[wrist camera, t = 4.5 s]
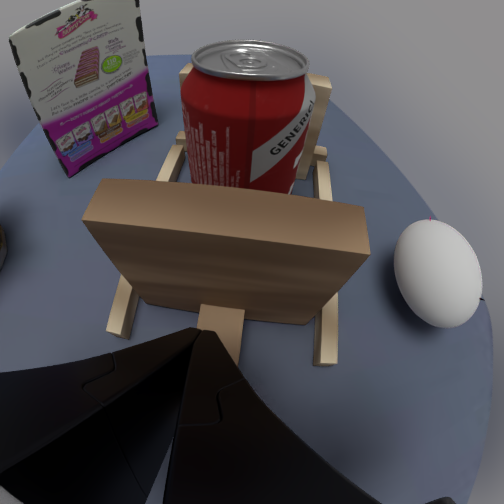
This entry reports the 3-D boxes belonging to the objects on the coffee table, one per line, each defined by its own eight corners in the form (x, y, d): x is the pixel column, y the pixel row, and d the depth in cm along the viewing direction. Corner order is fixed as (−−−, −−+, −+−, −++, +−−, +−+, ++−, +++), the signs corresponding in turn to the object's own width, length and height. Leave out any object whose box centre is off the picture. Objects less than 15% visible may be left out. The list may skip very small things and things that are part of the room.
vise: (328, 366, 15) (414, 332, 7) (115, 336, 15) (29, 278, 7) (322, 159, 24) (348, 76, 16) (181, 143, 24) (171, 58, 16)
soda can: (218, 260, 18) (207, 93, 8) (184, 192, 21) (163, 48, 11) (302, 225, 20) (352, 77, 10) (258, 167, 23) (274, 34, 12)
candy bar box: (140, 110, 27) (121, -15, 13) (160, 125, 26) (142, -20, 11) (58, 159, 23) (9, 33, 9) (67, 180, 21) (7, 35, 7)
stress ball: (462, 305, 18) (515, 270, 12) (407, 358, 16) (474, 333, 10) (418, 234, 21) (460, 186, 15) (355, 270, 19) (401, 215, 13)
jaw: (296, 436, 13) (366, 477, 5) (125, 410, 13) (28, 413, 5) (306, 294, 17) (363, 207, 9) (153, 274, 17) (102, 178, 9)
